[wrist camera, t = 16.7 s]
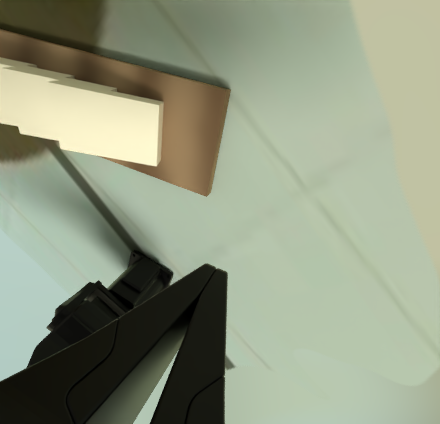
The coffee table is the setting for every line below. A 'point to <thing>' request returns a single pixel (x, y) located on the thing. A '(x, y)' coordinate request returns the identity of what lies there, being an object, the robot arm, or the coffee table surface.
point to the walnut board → (152, 89)
